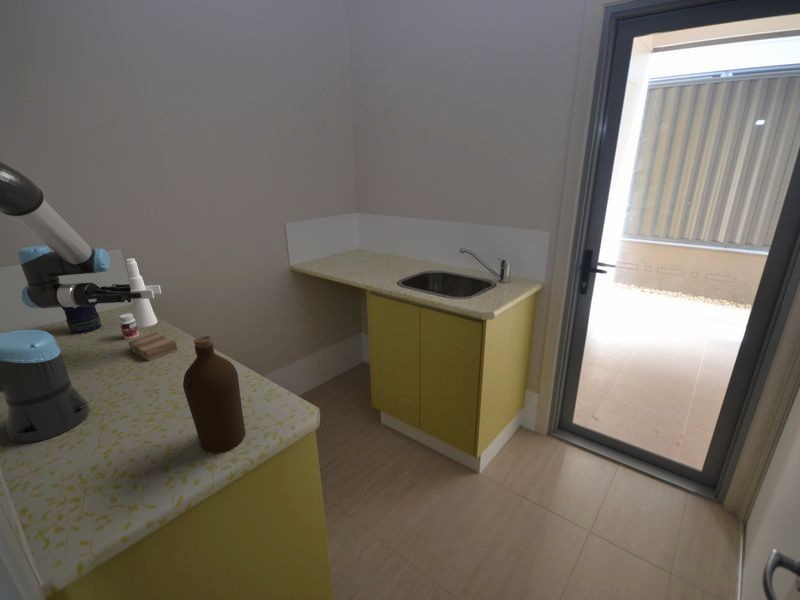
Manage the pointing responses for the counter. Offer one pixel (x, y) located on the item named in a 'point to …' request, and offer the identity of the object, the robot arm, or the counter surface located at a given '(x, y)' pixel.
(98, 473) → the counter surface
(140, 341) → the walnut board
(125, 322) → the pill bottle
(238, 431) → the olive oil
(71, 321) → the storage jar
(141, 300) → the cosmetic bottle
